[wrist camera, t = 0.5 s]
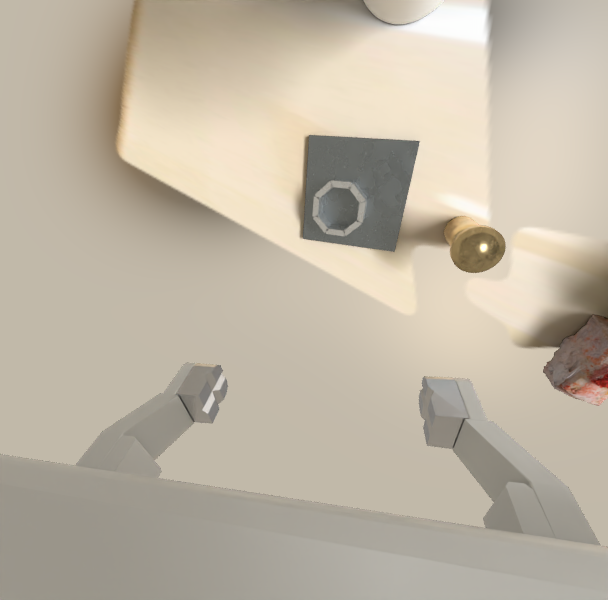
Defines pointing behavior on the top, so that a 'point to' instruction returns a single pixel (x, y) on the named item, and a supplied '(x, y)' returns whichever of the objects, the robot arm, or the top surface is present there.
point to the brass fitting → (473, 244)
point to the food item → (582, 363)
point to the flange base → (373, 179)
